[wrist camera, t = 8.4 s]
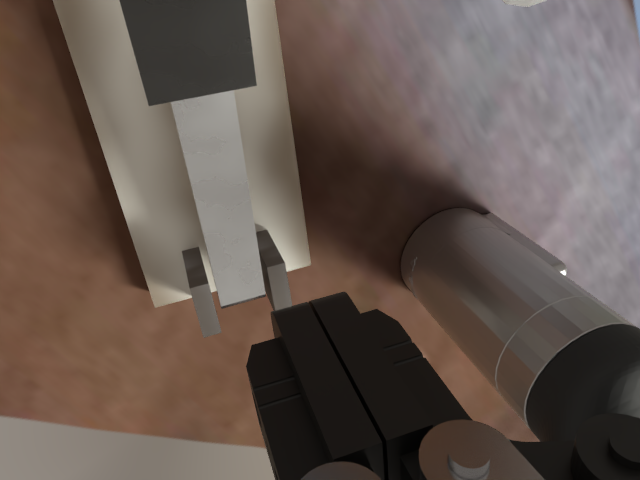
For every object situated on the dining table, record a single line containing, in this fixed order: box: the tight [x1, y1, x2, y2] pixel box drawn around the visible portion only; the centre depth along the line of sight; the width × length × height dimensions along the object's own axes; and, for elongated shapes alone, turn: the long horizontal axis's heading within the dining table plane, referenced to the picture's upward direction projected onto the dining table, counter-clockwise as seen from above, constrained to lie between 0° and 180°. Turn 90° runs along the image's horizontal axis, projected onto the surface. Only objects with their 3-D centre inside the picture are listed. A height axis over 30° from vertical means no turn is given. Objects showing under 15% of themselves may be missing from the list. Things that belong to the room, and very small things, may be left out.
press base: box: [53, 0, 311, 337], centre depth 33 cm, size 12×24×7 cm, turn 6°
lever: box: [119, 0, 266, 309], centre depth 29 cm, size 5×21×2 cm, turn 6°
